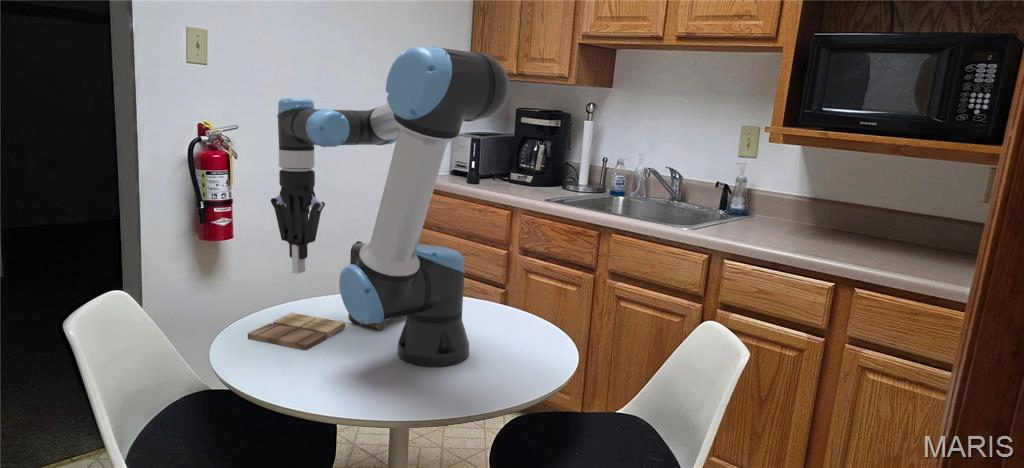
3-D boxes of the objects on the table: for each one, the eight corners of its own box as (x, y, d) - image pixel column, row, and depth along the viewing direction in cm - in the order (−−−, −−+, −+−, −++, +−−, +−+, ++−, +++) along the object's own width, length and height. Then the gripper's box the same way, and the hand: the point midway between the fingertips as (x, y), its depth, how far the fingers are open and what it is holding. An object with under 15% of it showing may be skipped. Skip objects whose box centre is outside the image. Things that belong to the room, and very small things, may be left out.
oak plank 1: (317, 321, 157) (317, 316, 157) (300, 331, 151) (299, 326, 151) (291, 317, 160) (291, 312, 159) (273, 326, 154) (273, 321, 153)
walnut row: (326, 339, 148) (326, 333, 148) (305, 350, 141) (305, 344, 141) (270, 328, 153) (270, 322, 153) (247, 338, 146) (247, 332, 146)
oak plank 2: (345, 326, 155) (345, 321, 155) (328, 337, 149) (328, 332, 149) (318, 322, 157) (318, 316, 157) (301, 332, 151) (301, 326, 151)
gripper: (332, 169, 150) (332, 271, 155) (283, 165, 154) (285, 265, 159) (311, 172, 143) (313, 279, 148) (261, 168, 147) (264, 272, 152)
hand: (298, 272), depth 153 cm, fingers closed
